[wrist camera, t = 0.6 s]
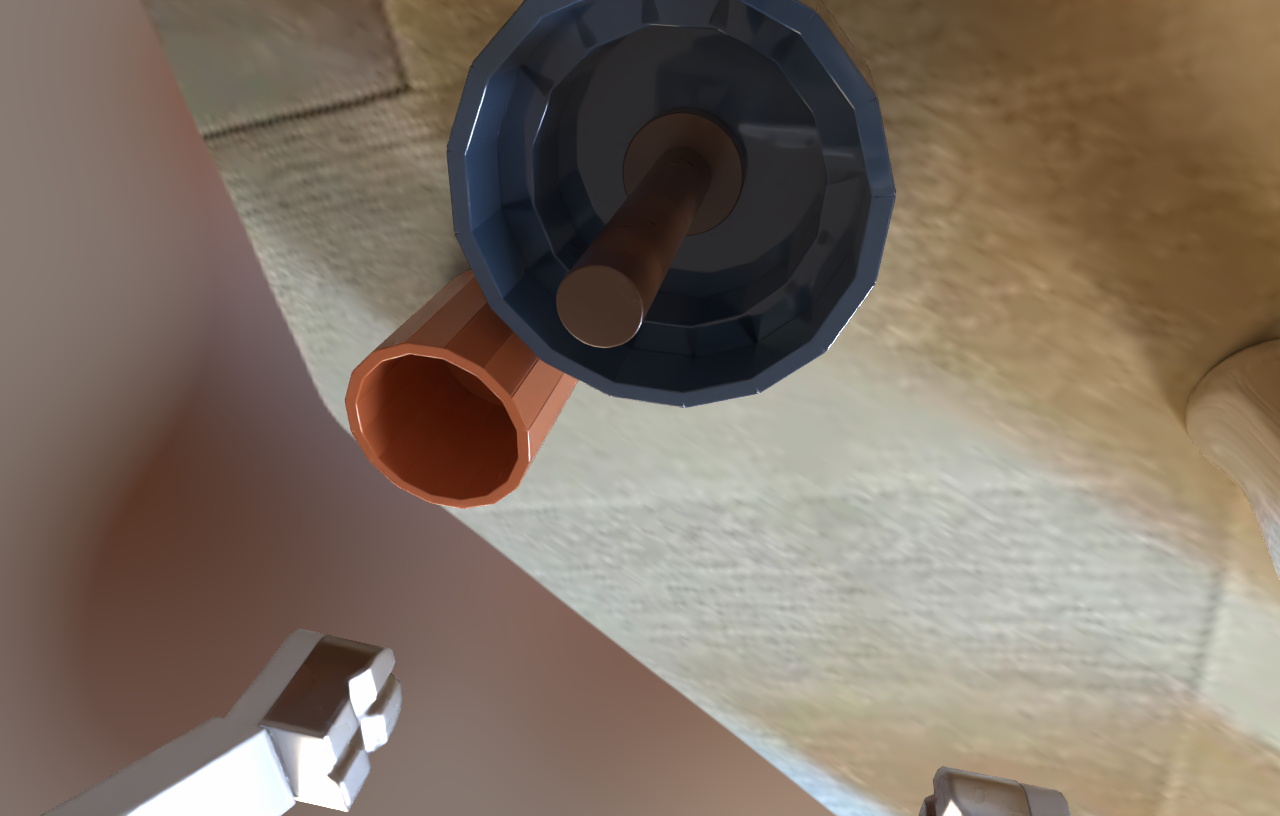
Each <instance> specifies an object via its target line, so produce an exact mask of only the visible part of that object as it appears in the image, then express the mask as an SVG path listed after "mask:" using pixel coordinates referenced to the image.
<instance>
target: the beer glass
mask: <svg viewBox="0 0 1280 816" xmlns="http://www.w3.org/2000/svg"><path fill="white" fill-rule="evenodd" d="M1185 424H1186V429H1187V433H1188V436H1189V438H1190V440H1191V442H1192V443H1193V445H1194V446H1195V447H1196V449H1197V450H1198V451H1199V452H1200V453H1201V454H1202V455H1203V456H1204V457H1205V458H1206V459H1208V460H1209V461H1210V462H1211V463H1212V464H1214V465H1215V466H1216V467H1217V468H1219V469H1220V470H1221V471H1222V472H1224V473H1225V474H1226V475H1227V476H1229V477H1230V478H1231V479H1232V480H1233V481H1234V482H1235V483H1236V484H1237V486H1238V487H1239V488H1240V489H1241V491H1242V492H1243V494H1244V496H1245V497H1246V499H1247V500H1248V502H1249V505H1250V507H1251V509H1252V512H1253V514H1254V516H1255V519H1256V521H1257V524H1258V526H1259V529H1260V532H1261V535H1262V537H1263V540H1264V543H1265V545H1266V548H1267V550H1268V553H1269V555H1270V558H1271V561H1272V563H1273V566H1274V568H1275V571H1276V573H1277V576H1278V578H1279V580H1280V339H1276V340H1271V341H1267V342H1264V343H1260V344H1257V345H1254V346H1251V347H1249V348H1246V349H1244V350H1242V351H1240V352H1238V353H1236V354H1234V355H1232V356H1230V357H1229V358H1227V359H1225V360H1224V361H1222V362H1221V363H1220V364H1218V365H1217V366H1216V367H1214V368H1213V369H1212V370H1211V371H1210V372H1209V373H1208V374H1207V375H1206V376H1205V377H1204V378H1203V379H1202V380H1201V381H1200V382H1199V384H1198V385H1197V386H1196V388H1195V389H1194V391H1193V393H1192V395H1191V397H1190V399H1189V401H1188V404H1187V408H1186V413H1185Z"/></svg>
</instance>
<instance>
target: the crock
mask: <svg viewBox="0 0 1280 816" xmlns="http://www.w3.org/2000/svg"><path fill="white" fill-rule="evenodd" d="M489 306H490V305H488V303H487V301H486V299H485V297H484V295H483V293H482V290H481V288H480V286H479V284H478V282H477V280H476V278H475V276H474V274H473V272H472V269H471V270H468V271H466V272H464V273H462V274H460V275H459V276H457V277H456V278H454V279H453V280H452V281H450V282H449V283H448V284H447V285H446V286H445V287H444V288H443V289H442V290H440V291H439V292H438V293H437V294H436V295H435V296H434V297H433V298H432V299H430V300H429V301H428V302H427V303H426V304H425V305H424V306H423V307H422V308H420V309H419V310H418V311H417V312H416V313H415V314H414V315H413V316H411V317H410V318H409V319H408V320H407V321H406V322H405V323H404V324H403V325H401V326H400V327H399V328H398V329H397V330H396V331H395V332H394V333H393V334H391V335H390V336H389V337H388V338H387V339H386V340H385V341H384V342H383V343H381V344H380V345H379V346H378V347H377V348H376V349H375V350H374V351H373V352H371V353H370V354H369V355H368V356H367V357H366V358H365V359H364V360H363V361H362V362H361V363H360V364H359V365H358V366H357V367H356V368H355V369H354V370H353V372H352V374H351V378H350V382H349V386H348V389H347V393H346V397H345V405H346V410H347V415H348V419H349V424H350V429H351V432H352V434H353V436H354V438H355V439H356V441H357V442H358V444H359V446H360V447H361V449H362V450H363V452H364V454H365V455H366V457H367V459H368V460H369V461H370V463H371V464H372V465H373V466H375V467H376V468H377V469H378V470H379V471H380V472H381V473H383V474H384V475H385V476H386V477H387V478H388V479H389V480H390V481H391V482H392V483H394V484H395V485H396V486H398V487H399V488H401V489H403V490H405V491H407V492H409V493H411V494H413V495H415V496H417V497H419V498H421V499H423V500H425V501H427V502H430V503H434V504H439V505H445V506H450V507H455V508H461V509H463V508H464V509H466V508H472V507H478V506H484V505H490V504H494V503H496V502H498V501H499V500H501V499H502V498H503V497H505V496H506V495H508V494H509V493H511V492H512V491H514V490H515V489H517V487H519V485H520V483H521V481H522V480H523V478H524V476H525V474H526V473H527V471H528V469H529V467H530V466H531V464H532V462H533V460H534V459H535V457H536V455H537V453H538V452H539V450H540V448H541V446H542V445H543V443H544V441H545V439H546V438H547V436H548V434H549V433H550V431H551V429H552V427H553V426H554V424H555V422H556V420H557V419H558V417H559V415H560V413H561V412H562V410H563V408H564V406H565V405H566V403H567V401H568V399H569V398H570V396H571V394H572V392H573V390H574V388H575V386H576V384H577V382H578V380H577V379H575V378H573V377H571V376H569V375H567V374H565V373H563V372H561V371H559V370H558V369H556V368H554V367H552V366H550V365H548V364H546V363H544V361H541V360H540V359H539V358H538V357H537V356H536V354H535V353H534V352H533V351H532V350H531V349H530V348H529V347H528V346H527V345H526V344H525V343H524V342H523V341H522V340H521V339H520V338H519V337H518V336H517V335H516V334H515V333H514V332H513V331H512V330H511V329H510V328H509V327H508V326H507V325H506V324H505V323H504V322H503V321H502V319H501V318H500V317H499V316H498V315H497V314H496V313H495V312H494V311H493V310H492V309H491V308H490V307H489Z"/></svg>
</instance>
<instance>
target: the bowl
mask: <svg viewBox="0 0 1280 816" xmlns="http://www.w3.org/2000/svg"><path fill="white" fill-rule="evenodd" d="M676 108H695V109H700V110H703V111H706V112H708V113H711V114H713V115H714V116H716V117H718V118H719V119H721V120H722V121H723V122H724V123H725V124H726V125H727V126H728V127H729V128H730V129H731V130H732V131H733V133H734V134H735V136H736V137H737V139H738V141H739V143H740V145H741V148H742V151H743V154H744V159H745V168H746V170H745V180H744V185H743V188H742V192H741V194H740V197H739V200H738V202H737V204H736V206H735V208H734V209H733V211H732V212H731V213H730V215H729V216H728V217H727V218H726V219H725V220H724V221H723V222H722V223H721V224H719V225H718V226H716V227H715V228H713V229H711V230H709V231H707V232H704V233H701V234H698V235H693V236H685V238H684V240H683V242H682V244H681V246H680V248H679V250H678V252H677V254H676V256H675V258H674V260H673V262H672V264H671V266H670V268H669V270H668V272H667V274H666V276H665V278H664V280H663V282H662V284H661V286H660V288H659V290H658V292H657V294H656V296H655V298H654V300H653V302H652V304H651V306H650V308H649V310H648V312H647V314H646V316H645V318H644V320H643V322H642V324H641V326H640V328H639V330H638V332H637V333H636V334H635V335H634V337H632V338H631V339H630V340H629V341H627V342H626V343H624V344H622V345H619V346H616V347H610V348H600V347H594V346H591V345H588V344H585V343H583V342H581V341H580V340H578V339H577V338H575V337H574V336H573V335H572V334H571V333H570V332H569V331H568V330H567V329H566V328H565V326H564V325H563V323H562V321H561V319H560V317H559V314H558V311H557V305H556V296H557V291H558V288H559V285H560V283H561V282H562V280H563V279H564V277H565V276H566V275H567V274H568V272H569V271H570V270H571V269H572V267H573V266H574V265H575V264H576V262H577V261H578V260H579V258H580V257H581V256H582V255H583V253H584V252H585V251H586V250H587V248H588V247H589V246H590V245H591V243H592V242H593V241H594V240H595V238H596V237H597V236H598V234H599V233H600V232H601V231H602V229H603V228H604V227H605V226H606V224H607V223H608V222H609V221H610V219H611V218H612V217H613V215H614V214H615V213H616V212H617V210H618V209H619V208H620V207H621V205H622V204H623V203H624V202H625V200H626V199H627V198H628V197H627V194H626V191H625V188H624V182H623V162H624V158H625V154H626V151H627V148H628V146H629V144H630V142H631V140H632V139H633V138H634V136H635V135H636V133H637V132H638V131H639V130H640V129H641V128H642V127H643V126H644V125H645V124H646V123H647V122H648V121H650V120H651V119H652V118H654V117H655V116H657V115H658V114H660V113H663V112H665V111H668V110H671V109H676ZM447 162H448V173H449V183H450V193H451V204H452V214H453V224H454V232H455V236H456V238H457V240H458V242H459V244H460V246H461V248H462V251H463V253H464V255H465V257H466V259H467V261H468V263H469V265H470V267H471V269H472V272H473V274H474V276H475V278H476V280H477V282H478V284H479V286H480V288H481V290H482V293H483V295H484V297H485V299H486V301H487V303H488V305H490V306H489V307H490V308H491V309H492V310H493V311H494V312H495V313H496V314H497V315H498V316H499V317H500V318H501V319H502V321H503V322H504V323H505V324H506V325H507V326H508V327H509V328H510V329H511V330H512V331H513V332H514V333H515V334H516V335H517V336H518V337H519V338H520V339H521V340H522V341H523V342H524V343H525V344H526V345H527V346H528V347H529V348H530V349H531V350H532V351H533V352H534V353H535V354H536V356H537V357H538V358H539V359H540V360H541V361H544V363H546V364H548V365H550V366H552V367H554V368H556V369H558V370H559V371H561V372H563V373H565V374H567V375H569V376H571V377H573V378H575V379H577V380H579V381H581V382H583V383H585V384H586V385H588V386H590V387H592V388H594V389H596V390H598V391H600V392H602V393H604V394H606V395H608V396H611V397H615V398H622V399H628V400H635V401H641V402H648V403H655V404H661V405H668V406H674V407H681V408H684V407H686V408H687V407H692V406H697V405H703V404H708V403H713V402H718V401H723V400H728V399H733V398H738V397H744V396H749V395H754V394H758V393H761V392H763V391H764V390H766V389H767V388H769V387H771V386H772V385H774V384H775V383H777V382H779V381H780V380H782V379H783V378H785V377H787V376H788V375H790V374H791V373H793V372H795V371H796V370H798V369H799V368H801V367H803V366H804V365H806V364H807V363H809V362H811V361H812V360H814V359H815V358H817V357H819V356H820V355H822V354H824V353H825V352H826V351H827V350H828V349H829V348H830V346H831V345H832V344H833V342H834V341H835V339H836V338H837V337H838V335H839V334H840V333H841V331H842V330H843V328H844V327H845V326H846V324H847V323H848V322H849V320H850V319H851V317H852V316H853V315H854V313H855V312H856V310H857V309H858V308H859V306H860V305H861V304H862V302H863V301H864V299H865V298H866V297H867V295H868V294H869V293H870V291H871V290H872V288H873V287H874V286H875V282H876V281H877V276H878V272H879V268H880V263H881V259H882V255H883V250H884V246H885V242H886V237H887V233H888V228H889V224H890V220H891V215H892V211H893V207H894V202H895V198H896V196H895V194H896V190H895V184H894V179H893V174H892V169H891V164H890V158H889V153H888V148H887V143H886V137H885V132H884V127H883V122H882V117H881V111H880V106H879V101H878V97H877V93H876V90H875V86H874V83H873V79H872V76H871V72H870V70H869V68H868V65H867V64H866V63H865V61H864V60H863V58H862V57H861V55H860V54H859V53H858V51H857V50H856V48H855V47H854V45H853V44H852V43H851V41H850V40H849V38H848V37H847V35H846V34H845V33H844V31H843V30H842V28H841V27H840V25H839V24H838V23H837V21H836V20H835V18H834V17H833V15H832V14H831V13H830V11H829V10H828V8H827V7H826V6H825V4H824V3H823V1H822V0H524V1H523V3H522V4H521V5H520V6H519V7H518V9H517V10H516V11H515V12H514V13H513V14H512V16H511V17H510V18H509V19H508V20H507V22H506V23H505V24H504V25H503V26H502V27H501V29H500V30H499V31H498V32H497V33H496V35H495V36H494V37H493V38H492V39H491V40H490V42H489V43H488V44H487V45H486V46H485V48H484V49H483V50H482V51H481V52H480V53H479V55H478V56H477V57H476V58H475V59H474V61H473V62H472V65H471V66H470V69H469V72H468V76H467V79H466V82H465V86H464V89H463V93H462V96H461V100H460V103H459V107H458V110H457V113H456V117H455V120H454V124H453V127H452V131H451V134H450V138H449V141H448V144H447Z"/></svg>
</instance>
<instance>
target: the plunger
mask: <svg viewBox="0 0 1280 816" xmlns="http://www.w3.org/2000/svg"><path fill="white" fill-rule="evenodd" d="M745 170H746V168H745V159H744V154H743V151H742V148H741V145H740V143H739V141H738V139H737V137H736V136H735V134H734V133H733V131H732V130H731V129H730V128H729V127H728V126H727V125H726V124H725V123H724V122H723V121H722V120H721V119H719V118H718V117H716V116H714V115H713V114H711V113H708V112H706V111H703V110H700V109H695V108H676V109H671V110H668V111H665V112H663V113H660V114H658V115H657V116H655V117H654V118H652V119H651V120H650V121H648V122H647V123H646V124H645V125H644V126H643V127H642V128H641V129H640V130H639V131H638V132H637V133H636V135H635V136H634V138H633V139H632V140H631V142H630V144H629V146H628V148H627V151H626V154H625V158H624V162H623V182H624V188H625V191H626V194H627V197H628V198H627V199H626V200H625V202H624V203H623V204H622V205H621V207H620V208H619V209H618V210H617V212H616V213H615V214H614V215H613V217H612V218H611V219H610V221H609V222H608V223H607V224H606V226H605V227H604V228H603V229H602V231H601V232H600V233H599V234H598V236H597V237H596V238H595V240H594V241H593V242H592V243H591V245H590V246H589V247H588V248H587V250H586V251H585V252H584V253H583V255H582V256H581V257H580V258H579V260H578V261H577V262H576V264H575V265H574V266H573V267H572V269H571V270H570V271H569V272H568V274H567V275H566V276H565V277H564V279H563V280H562V282H561V283H560V285H559V288H558V291H557V296H556V305H557V311H558V314H559V317H560V319H561V321H562V323H563V325H564V326H565V328H566V329H567V330H568V331H569V332H570V333H571V334H572V335H573V336H574V337H575V338H577V339H578V340H580V341H581V342H583V343H585V344H588V345H591V346H594V347H600V348H610V347H616V346H619V345H622V344H624V343H626V342H627V341H629V340H630V339H631V338H632V337H634V335H635V334H636V333H637V332H638V330H639V328H640V326H641V324H642V322H643V320H644V318H645V316H646V314H647V312H648V310H649V308H650V306H651V304H652V302H653V300H654V298H655V296H656V294H657V292H658V290H659V288H660V286H661V284H662V282H663V280H664V278H665V276H666V274H667V272H668V270H669V268H670V266H671V264H672V262H673V260H674V258H675V256H676V254H677V252H678V250H679V248H680V246H681V244H682V242H683V240H684V238H685V236H693V235H698V234H701V233H704V232H707V231H709V230H711V229H713V228H715V227H716V226H718V225H719V224H721V223H722V222H723V221H724V220H725V219H726V218H727V217H728V216H729V215H730V213H731V212H732V211H733V209H734V208H735V206H736V204H737V202H738V200H739V197H740V194H741V192H742V188H743V185H744V180H745Z"/></svg>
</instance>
